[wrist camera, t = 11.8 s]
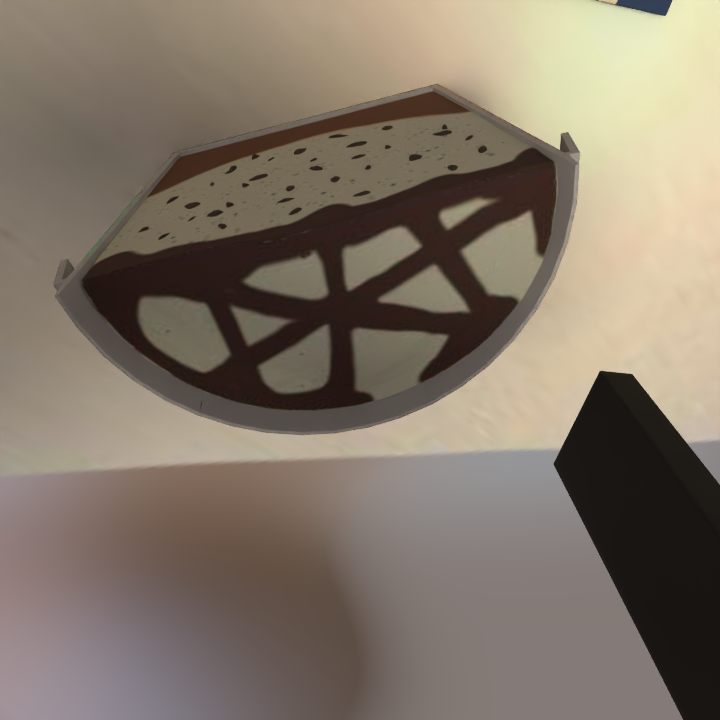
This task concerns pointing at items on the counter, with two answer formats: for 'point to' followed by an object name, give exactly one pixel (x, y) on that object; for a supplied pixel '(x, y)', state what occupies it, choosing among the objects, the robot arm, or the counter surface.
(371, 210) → the food container
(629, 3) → the cloth
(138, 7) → the counter surface
